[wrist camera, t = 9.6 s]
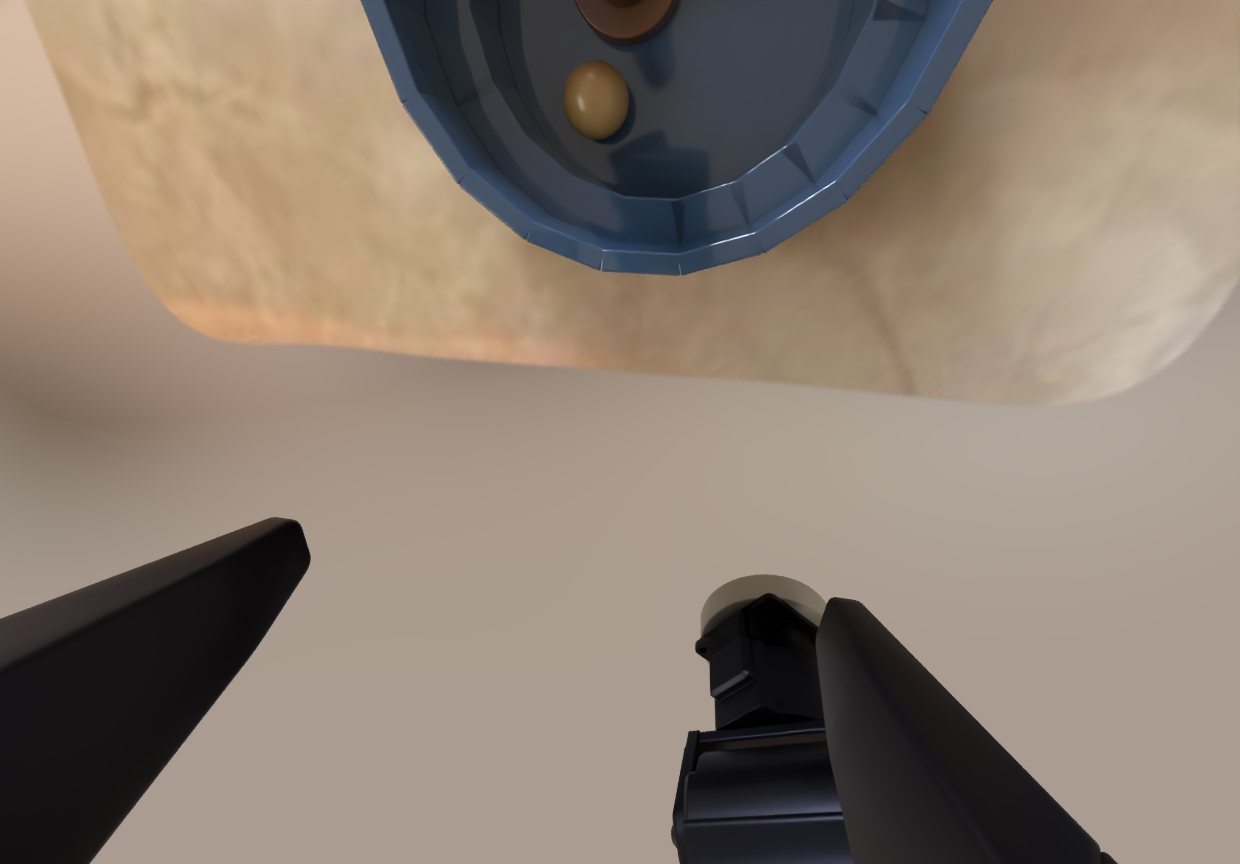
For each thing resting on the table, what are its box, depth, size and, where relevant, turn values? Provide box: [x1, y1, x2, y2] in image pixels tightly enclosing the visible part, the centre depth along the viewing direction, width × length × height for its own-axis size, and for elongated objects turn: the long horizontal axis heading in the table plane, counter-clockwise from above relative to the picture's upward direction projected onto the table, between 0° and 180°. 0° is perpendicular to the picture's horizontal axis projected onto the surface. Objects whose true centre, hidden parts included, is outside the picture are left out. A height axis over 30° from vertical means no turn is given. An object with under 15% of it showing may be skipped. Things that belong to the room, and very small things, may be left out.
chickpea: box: [563, 60, 629, 140], centre depth 15 cm, size 2×2×2 cm
